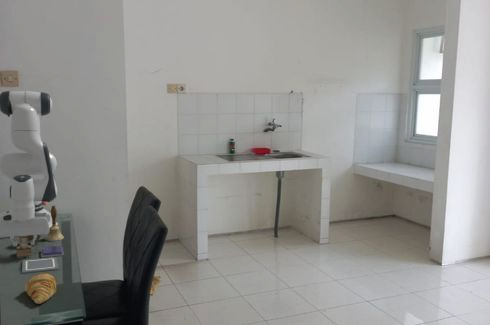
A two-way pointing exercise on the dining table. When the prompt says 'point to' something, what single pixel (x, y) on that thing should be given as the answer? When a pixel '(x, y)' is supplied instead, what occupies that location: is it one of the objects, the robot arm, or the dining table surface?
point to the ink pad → (52, 251)
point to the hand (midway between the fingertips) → (24, 245)
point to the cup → (31, 237)
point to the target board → (39, 265)
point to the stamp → (23, 247)
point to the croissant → (41, 287)
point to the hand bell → (54, 228)
